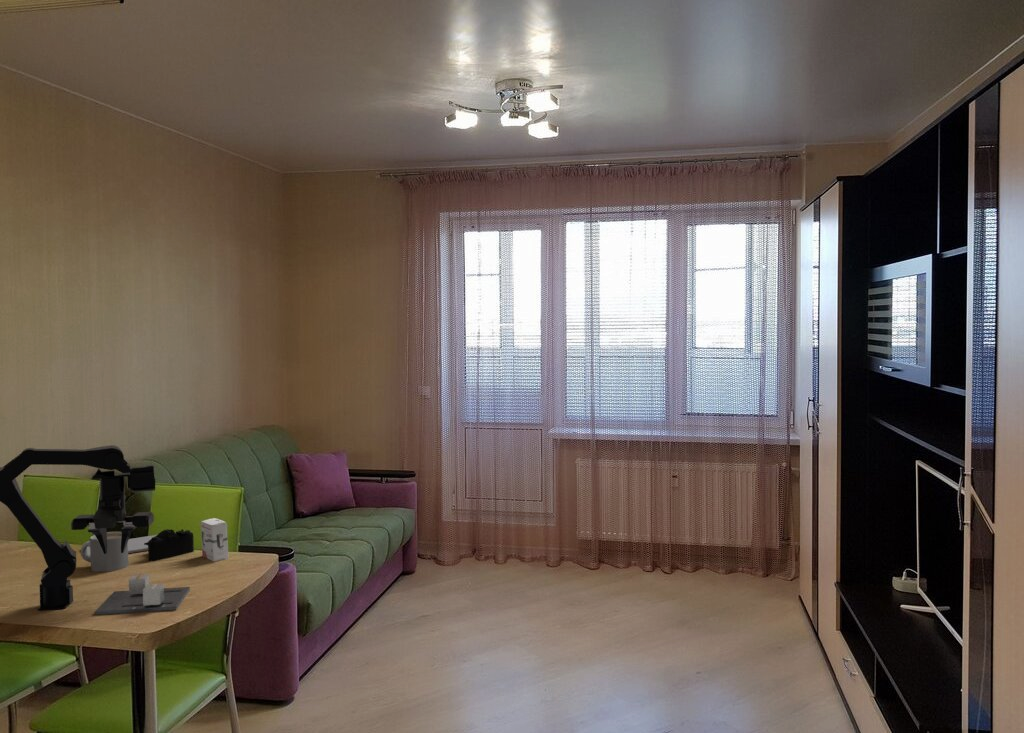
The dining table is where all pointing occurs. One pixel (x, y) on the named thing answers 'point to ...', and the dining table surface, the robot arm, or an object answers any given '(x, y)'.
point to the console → (141, 602)
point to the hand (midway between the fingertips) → (114, 553)
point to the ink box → (214, 539)
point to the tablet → (134, 544)
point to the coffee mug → (113, 556)
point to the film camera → (170, 544)
